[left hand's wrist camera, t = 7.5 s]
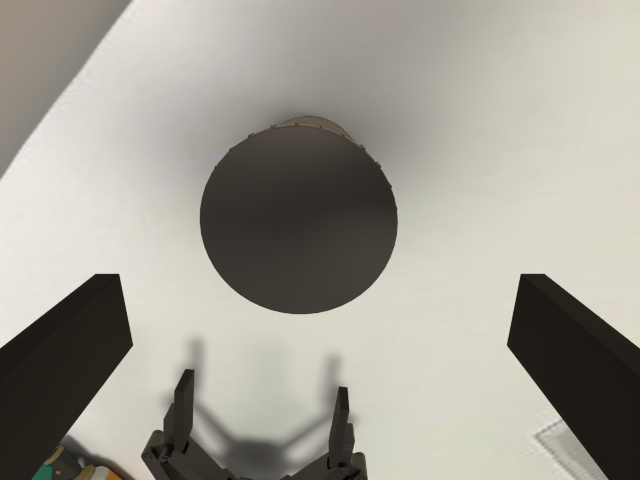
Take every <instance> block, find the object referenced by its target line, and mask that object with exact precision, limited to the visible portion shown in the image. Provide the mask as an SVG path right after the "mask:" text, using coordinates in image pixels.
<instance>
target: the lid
mask: <svg viewBox="0 0 640 480" xmlns="http://www.w3.org/2000/svg"><path fill="white" fill-rule="evenodd" d="M248 137H249V138H247V139H246V140H244V141H242V142H241V143H239V144H238V145H236V146H234V147H232V148H231V149H229V152H228V153H227V154H226V155H225V156H224V157H223V159H222V160H221V161H220V162H219V163H218V165H217V166H215V167H214V168H215V169H214V171H213V172H212V174H211V176H210V178H209V180H208V182H207V184H206V187H205V190H204V193H203V196H202V201H201V208H200V228H201V235H202V239H203V243H204V247H205V249H206V252H207V254H208V257H209V259H210V260H211V262H212V264H213V266H214V268H215V269H216V270H217V272H218V273H219V275H220V276H221V277H222V278H223V280H224V281H225V282H226V283H227V284H228V285H229V286H230V287H231V288H233V289H234V290H235V291H236V292H237V293H239V294H240V295H241V296H243V297H244V298H246V299H248V300H249V301H251V302H253V303H255V304H257V305H259V306H262V307H264V308H267V309H270V310H273V311H278V312H282V313H290V314H312V313H319V312H324V311H328V310H331V309H334V308H337V307H340V306H342V305H344V304H346V303H348V302H350V301H352V300H353V299H355V298H356V297H358V296H359V295H361V294H362V293H363V292H364V291H366V290H367V289H368V288H369V287H370V286H371V285H372V284H373V283H374V282H375V281H376V280H377V278H378V277H379V276H380V274H381V273H382V271H383V270H384V269H385V267H386V265H387V263H388V261H389V259H390V257H391V254H392V251H393V249H394V245H395V241H396V236H397V225H398V219H397V207H396V203H395V198H394V195H393V192H392V189H391V188H392V186H391V184H390V183H389V182H388V180H387V179H386V177H385V175H384V173H383V172H382V170H381V169H380V168H381V166H380V164H379V163H378V162H375V161H374V159H373V158H372V157H371V156H370V155H369V154H368V153H367V152H366V151H365V148H364V146H363V145H361V146H360V145H358V144H357V143H356V142H355V141H353V140H352V139H350V138H348V137H347V136H345V133H343V132H342V133H339V132H337V131H335V130H332V129H330V128H326V127H322V124H320V126H319V125H312V124H299V122H296V123H295V124H285V125H279V126H276V124H275V125H273V126H271V128H268V129H265V130H263V131H261V132H259V133H256V134H255V133H252V134H250V135H249V136H248Z"/></svg>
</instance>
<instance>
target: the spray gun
mask: <svg viewBox="0 0 640 480" xmlns="http://www.w3.org/2000/svg"><path fill="white" fill-rule="evenodd" d="M54 450H56V452H55V451H54ZM54 450H53V452H52V453H51V454H50V456H49V457H48V458H47V460H46V461H45V462H44V464H43V465H42V466H41V468H40V469H39V470H38V472H37V473H36V474H35V475H34V477H33V478H32V479H31V480H122V479H121V478H119V477H118V476H117V475H116V474H114V473H113V472H112V471H111V470H110V469H108V468H107V467H104V466H99V467H94V466H93V465H92V464H91V465H88V466H86V467H85V468H82V467H81V466H80V465H79V464H78V463H77V462H76V461H75V460H74V459H73V458H72V457H71V456H70V455H69V454H68V453H67V452H66V451H65V450H64V447H63V446H62V445H60V446H58V447H57V446H56V448H55V449H54Z"/></svg>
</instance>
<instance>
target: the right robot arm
mask: <svg viewBox="0 0 640 480" xmlns="http://www.w3.org/2000/svg"><path fill="white" fill-rule="evenodd" d="M193 394H194V370H191V369H185V371H184V373H183V375H182V377H181V379H180V381H179V383H178V385H177V387H176V389H175V392H174V403H172V404H171V406H170V408H169V410H168V412H167V414H166V416H165V418H164V432H163V431H161V430H155V431H154V432H153V433H152V435H151V437H150V439H149V441H148V443H147V445H146V447H145V449H144V451H143V453H142V455H141V458H142V460H143V461H144V463H145V464H146V466H147V467H148V469H149V470H150V472H151V473H152V475H153V476H154V478H155V479H156V480H238V479H237V478H236V477H235V476H234V475H233V474H232V473H231V472H230V471H229V470H228V469H227V468H225V469H221V467H220V466H219V465H218V464H217V463H216V462H215V461H214V460H213V459H212V458H211V457H210V456H209V455H208V454H207V453H206V452H205V451H204V450H203V449H202V448H201V447H200V446H199V445H198V444H197V443H196V442H195V441H194V440H193V439H192V438H191V437H190V436H189V434H190V432H191V429H192V427H193ZM348 415H349V401H348V389H347V387H339V390H338V395H337V400H336V405H335V411H334V416H333V421H332V427H331V432H330V437H329V452H327V453H326V454H324V455H323V456H321V457H320V458H318V459H317V460H315V461H314V462H312V463H311V464H309V465H308V466H306V467H305V468H303V469H302V470H300V471H299V472H297V473H296V474H294V475H293V476H291V477H290V476H289V475H286V476H285V477H283V478H282V479H280V480H368V478H367V469H366V461H365V455H364V454H363V453H361V452H357V453H354V454H353V453H352V451H353V447H354V442H355V438H354V428H353V424H351V423H347V419H348ZM240 480H252V479H249V478H242V477H240Z"/></svg>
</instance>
